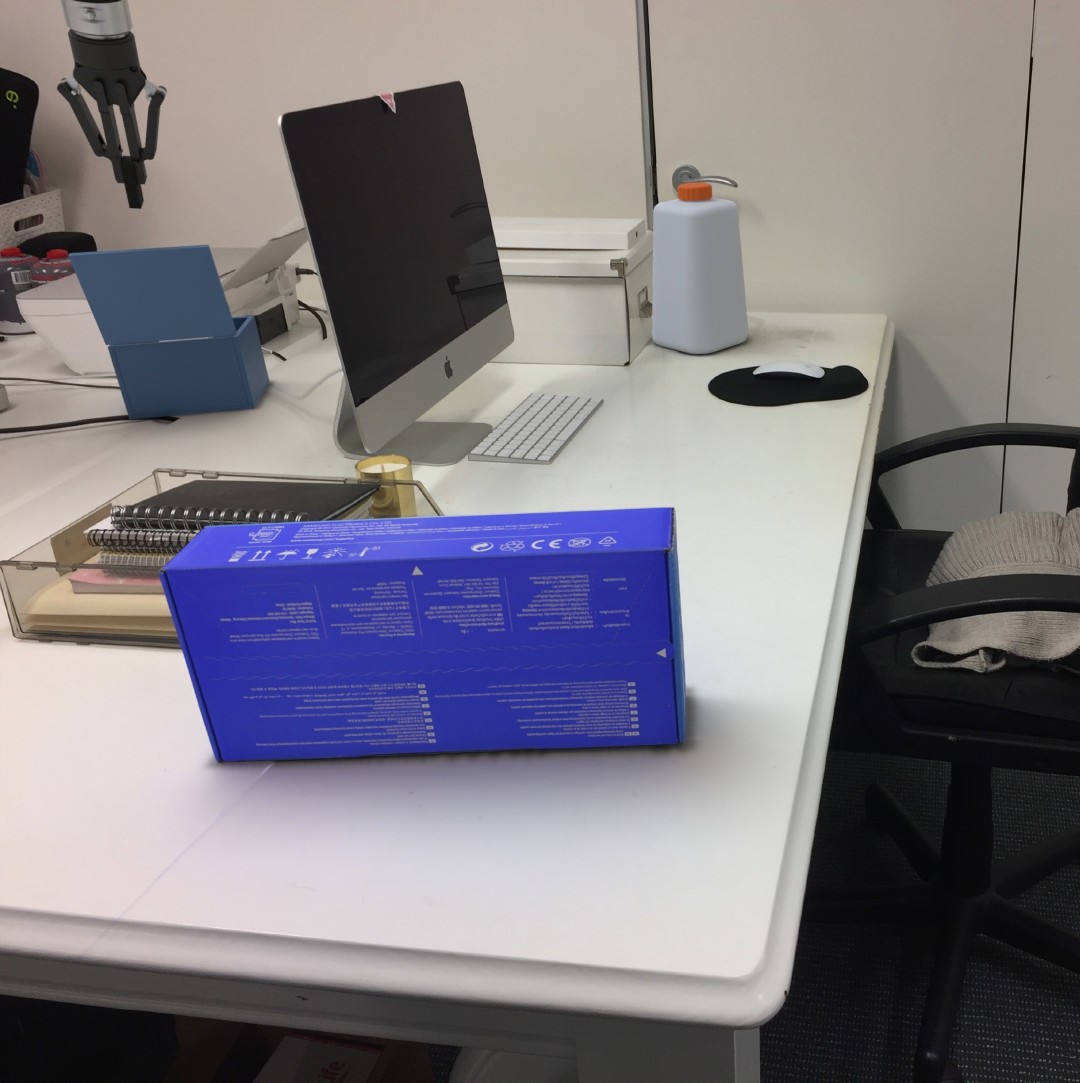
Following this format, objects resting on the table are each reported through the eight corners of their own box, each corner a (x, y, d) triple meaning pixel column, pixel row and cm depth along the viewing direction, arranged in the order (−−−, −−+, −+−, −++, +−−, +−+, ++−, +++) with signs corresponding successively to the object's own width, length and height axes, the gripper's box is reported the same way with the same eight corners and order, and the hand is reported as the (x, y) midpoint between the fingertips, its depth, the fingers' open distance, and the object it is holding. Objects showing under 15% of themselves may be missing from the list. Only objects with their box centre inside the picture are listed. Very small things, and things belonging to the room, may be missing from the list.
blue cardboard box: (687, 691, 93) (677, 503, 84) (686, 750, 85) (675, 550, 77) (252, 705, 93) (200, 519, 84) (213, 765, 85) (151, 567, 77)
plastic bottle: (700, 327, 202) (694, 176, 190) (758, 340, 193) (756, 182, 180) (643, 344, 193) (633, 186, 180) (701, 359, 183) (694, 193, 171)
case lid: (69, 253, 147) (68, 255, 147) (208, 244, 150) (207, 247, 150) (107, 342, 157) (105, 345, 156) (237, 332, 160) (236, 335, 159)
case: (153, 393, 174) (133, 324, 169) (270, 383, 177) (254, 315, 172) (129, 420, 162) (107, 347, 157) (254, 409, 165) (237, 336, 160)
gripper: (35, 34, 129) (80, 213, 144) (153, 45, 132) (183, 218, 148) (48, 15, 134) (90, 190, 149) (161, 25, 138) (190, 195, 153)
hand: (136, 204), depth 149 cm, fingers closed
